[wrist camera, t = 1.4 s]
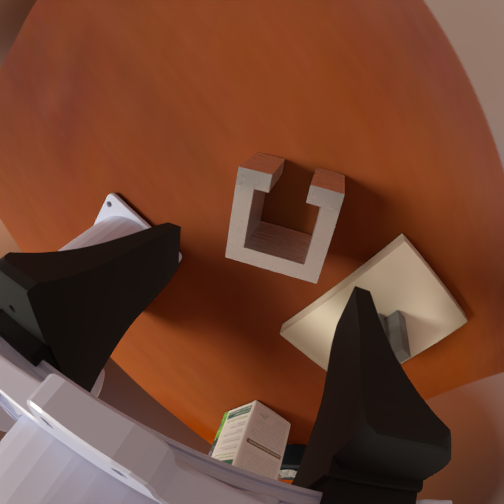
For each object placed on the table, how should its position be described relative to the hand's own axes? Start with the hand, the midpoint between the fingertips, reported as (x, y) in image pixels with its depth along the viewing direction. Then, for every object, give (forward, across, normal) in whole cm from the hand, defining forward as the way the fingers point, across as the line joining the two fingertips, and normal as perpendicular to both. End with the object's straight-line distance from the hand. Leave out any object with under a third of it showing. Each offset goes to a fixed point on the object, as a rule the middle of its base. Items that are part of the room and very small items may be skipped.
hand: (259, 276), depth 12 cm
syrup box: (+9, -2, +26) cm, 28 cm away
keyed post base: (+10, -8, +8) cm, 15 cm away
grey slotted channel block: (+10, +1, +1) cm, 10 cm away
